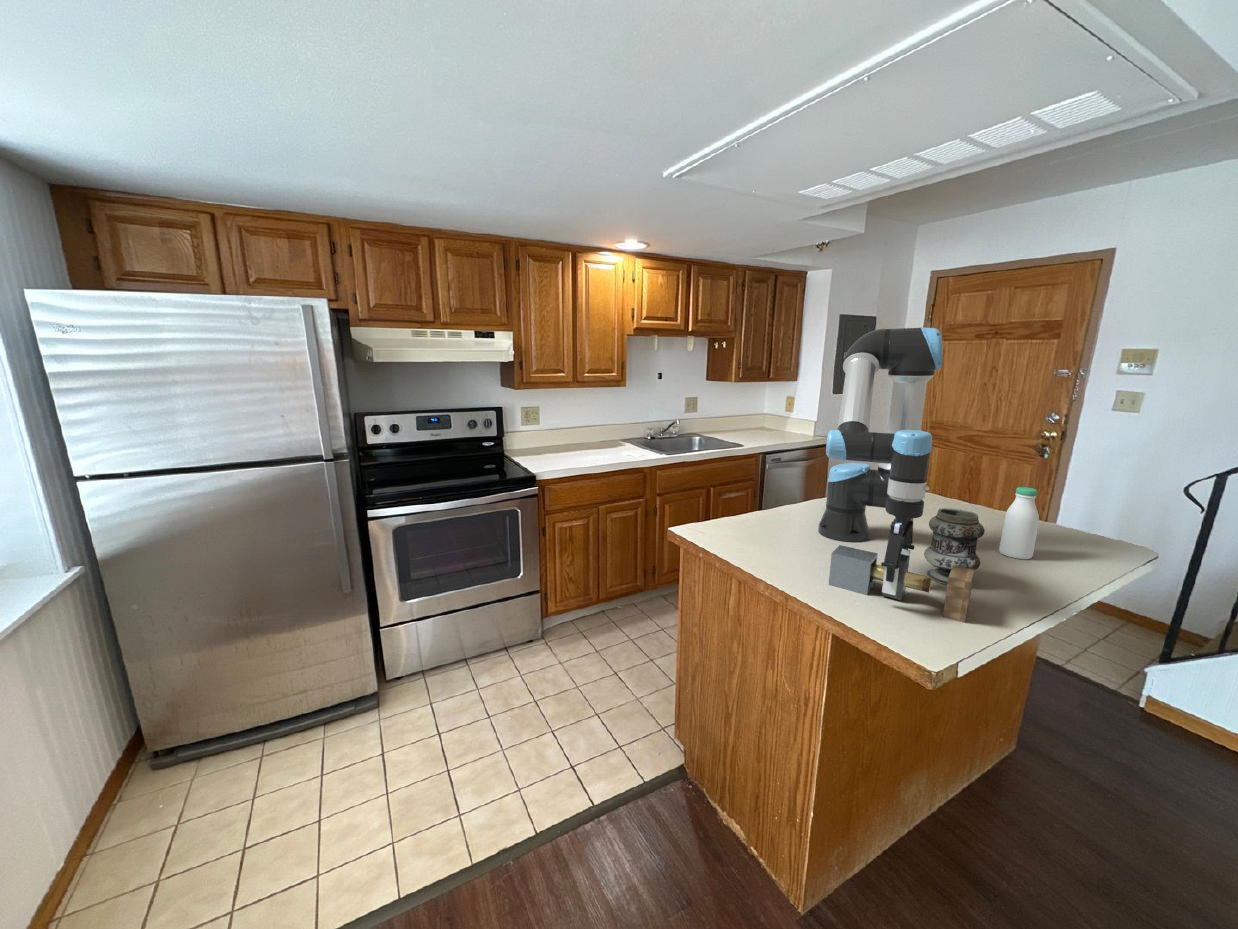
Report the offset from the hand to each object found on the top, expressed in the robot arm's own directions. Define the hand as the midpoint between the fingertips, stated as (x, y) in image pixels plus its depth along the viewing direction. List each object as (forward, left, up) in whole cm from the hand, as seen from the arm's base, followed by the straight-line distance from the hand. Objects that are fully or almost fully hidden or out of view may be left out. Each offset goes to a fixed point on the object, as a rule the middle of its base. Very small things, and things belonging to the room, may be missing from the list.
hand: (895, 583), depth 117 cm
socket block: (+13, 0, -3) cm, 13 cm away
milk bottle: (+22, +51, -4) cm, 56 cm away
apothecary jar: (+9, +20, -4) cm, 22 cm away
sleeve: (-10, 0, -3) cm, 10 cm away
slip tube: (-3, 0, -3) cm, 4 cm away
